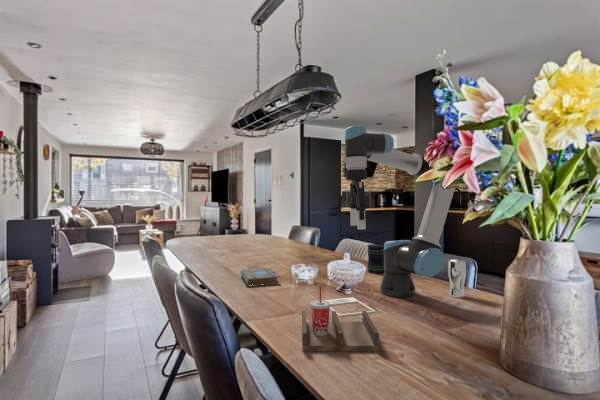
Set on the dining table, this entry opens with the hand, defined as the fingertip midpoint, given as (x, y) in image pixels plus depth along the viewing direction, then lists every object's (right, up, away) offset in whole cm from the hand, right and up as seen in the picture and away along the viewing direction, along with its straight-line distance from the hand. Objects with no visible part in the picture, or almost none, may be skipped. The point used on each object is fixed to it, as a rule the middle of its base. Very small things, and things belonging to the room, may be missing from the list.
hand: (357, 227), depth 125 cm
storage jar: (+22, -31, +67) cm, 77 cm away
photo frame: (-3, -32, +7) cm, 33 cm away
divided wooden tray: (-10, -32, -22) cm, 40 cm away
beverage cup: (-15, -30, -22) cm, 40 cm away
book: (-42, -32, +49) cm, 72 cm away
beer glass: (+46, -31, +21) cm, 59 cm away
